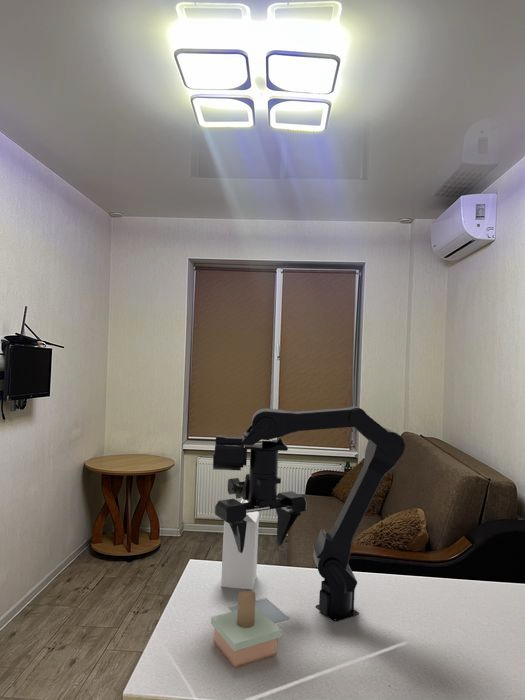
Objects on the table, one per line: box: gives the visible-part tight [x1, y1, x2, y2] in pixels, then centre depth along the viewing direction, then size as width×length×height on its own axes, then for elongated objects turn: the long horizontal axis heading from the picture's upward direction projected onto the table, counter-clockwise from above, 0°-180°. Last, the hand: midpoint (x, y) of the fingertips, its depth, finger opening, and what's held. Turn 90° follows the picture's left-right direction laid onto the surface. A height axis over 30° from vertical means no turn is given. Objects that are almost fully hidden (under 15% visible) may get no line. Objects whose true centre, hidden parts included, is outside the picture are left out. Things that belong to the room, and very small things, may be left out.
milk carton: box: [220, 498, 260, 591], centre depth 110 cm, size 7×7×19 cm
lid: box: [210, 589, 282, 651], centre depth 84 cm, size 9×9×6 cm
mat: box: [227, 597, 291, 624], centre depth 96 cm, size 9×9×1 cm
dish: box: [213, 628, 278, 669], centre depth 84 cm, size 8×8×4 cm
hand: (260, 548), depth 98 cm, fingers open, 9 cm apart
